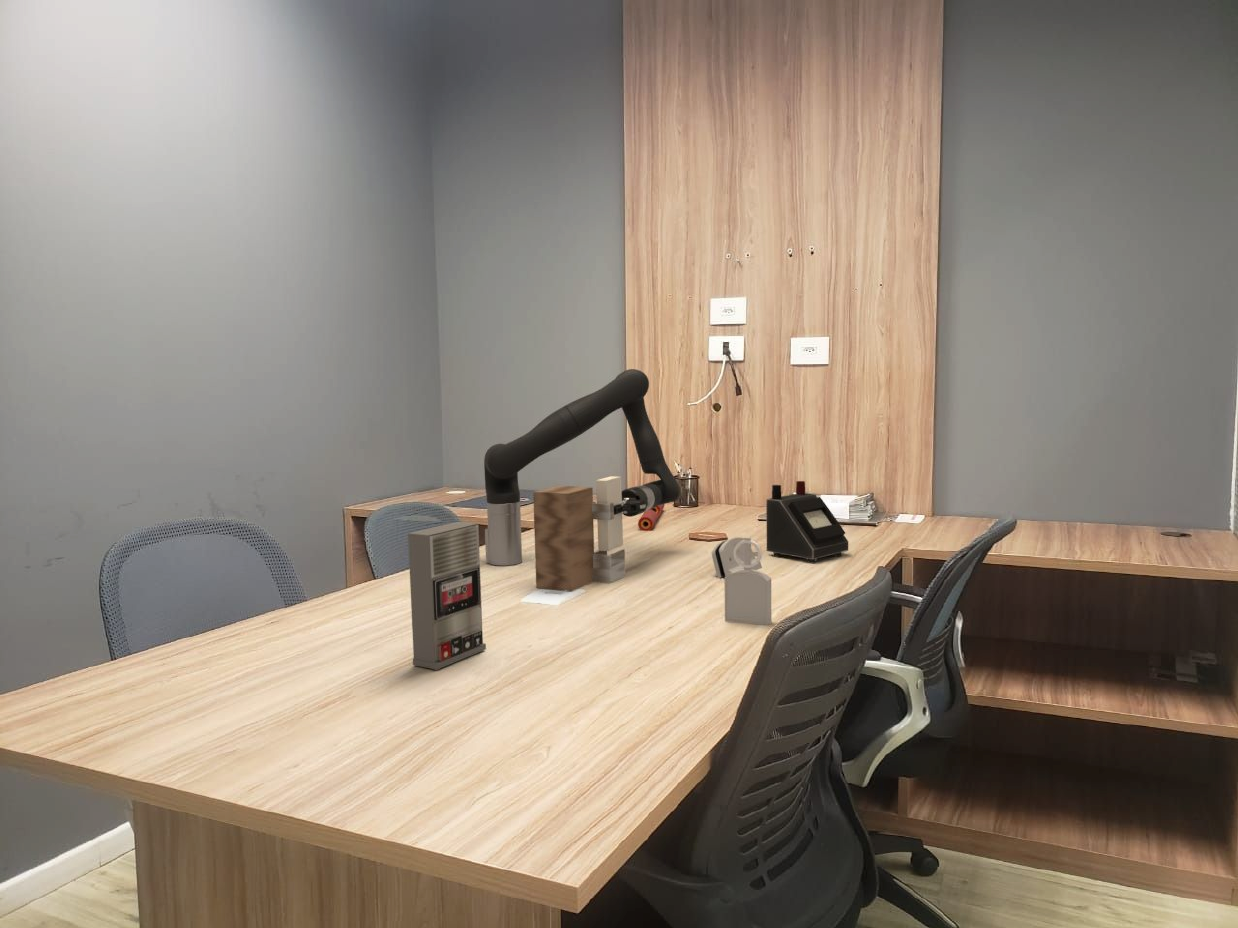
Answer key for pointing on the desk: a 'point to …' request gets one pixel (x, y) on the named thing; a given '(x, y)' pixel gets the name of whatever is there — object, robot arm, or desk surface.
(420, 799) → the desk surface
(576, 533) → the cabinet
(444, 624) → the cassette tape recorder
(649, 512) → the blood vessel
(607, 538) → the beige rectangular block
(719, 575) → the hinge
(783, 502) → the voltmeter
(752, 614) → the gravestone
